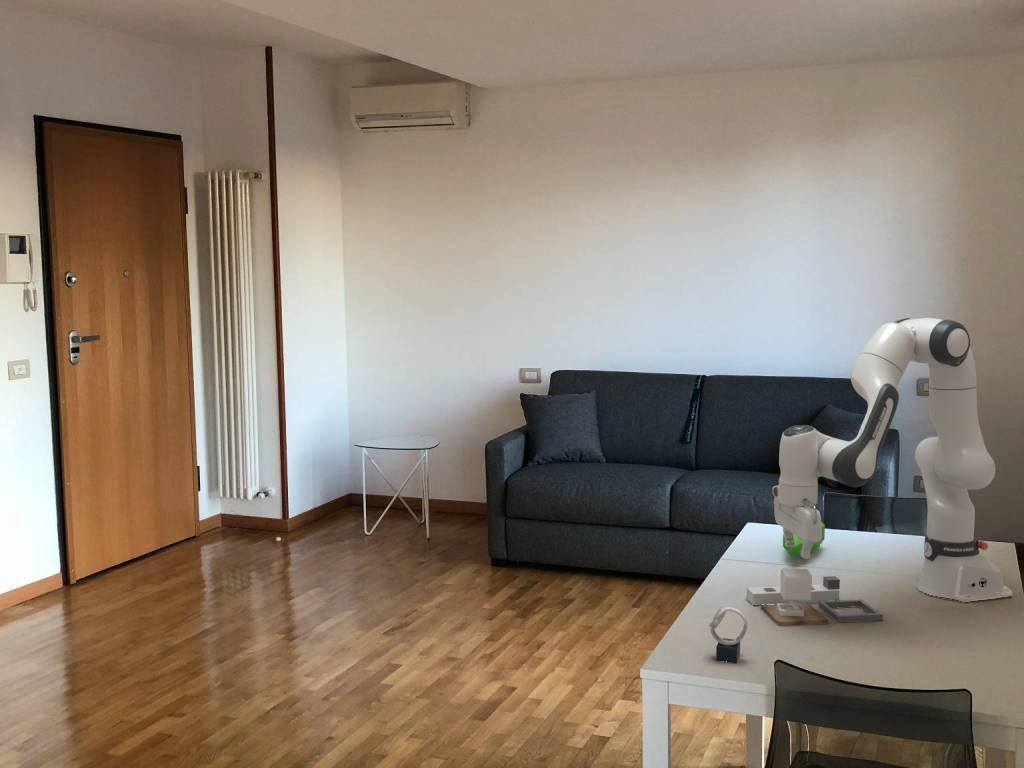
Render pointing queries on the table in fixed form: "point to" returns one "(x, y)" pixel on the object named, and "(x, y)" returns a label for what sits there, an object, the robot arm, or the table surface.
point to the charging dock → (872, 615)
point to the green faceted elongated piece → (798, 544)
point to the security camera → (794, 590)
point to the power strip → (774, 596)
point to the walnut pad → (809, 616)
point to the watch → (727, 647)
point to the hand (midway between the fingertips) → (797, 552)
